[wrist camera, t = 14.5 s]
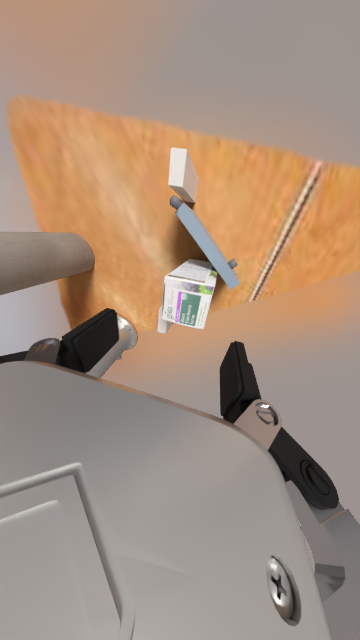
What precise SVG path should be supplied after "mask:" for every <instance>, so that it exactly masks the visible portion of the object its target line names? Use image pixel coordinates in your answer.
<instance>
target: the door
mask: <svg viewBox="0 0 360 640" xmlns="http://www.w3.org/2000/svg"><path fill="white" fill-rule="evenodd" d="M170 205H171V206H172V207H174V208H175V209H177V211H176V212H175V213H176V215H177V216H178V217H179V219H180V220H181V222H182V223H183V224H184V226H185V227H186V229H187V230H188V231H189V233H190V234H191V235H192V237H193V238H194V240H195V241H196V242H197V244H198V245H199V247H200V248H201V249H202V251H203V252H204V254H205V255H206V256H207V258H208V259H209V260H210V262H211V263H212V265H213V266H214V267H215V269H216V270H217V272H218V273H219V274H220V276H221V277H222V278H223V280H224V281H225V283H226V284H227V285H228V287H229V288H230V290H231V289H232V288H234V287H235V286H237V285H238V284H240V283H239V280H238V278H237V275H236V273H235V271H234V269H233V268H234V267H236V266H237V265H238V264H237V263H236V261H235V260H234V258H233V259H232V260H231V261H229V262H228V260H227V259H226V257H225V256H224V255H223V253H222V252H221V250H220V249H219V247H218V246H217V244H216V243H215V241H214V240H213V238H212V237H211V235H210V234H209V233H208V231H207V230H206V228H205V227H204V225H203V224H202V222H201V221H200V219H199V218H198V216H197V215H196V213H195V212H194V211H193V210H192V209H191V208H190V207H188V206H187V205H186V204H185V203H184V202H182V201H181V200H180V199H179V198H178V197H176V196H172V197H171V198H170Z"/></svg>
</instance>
